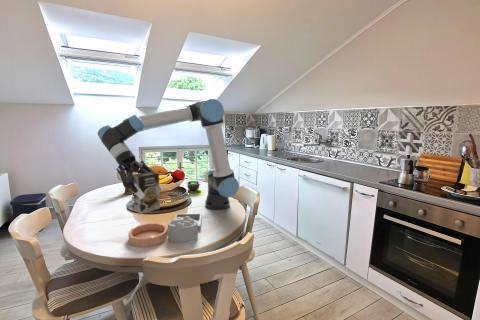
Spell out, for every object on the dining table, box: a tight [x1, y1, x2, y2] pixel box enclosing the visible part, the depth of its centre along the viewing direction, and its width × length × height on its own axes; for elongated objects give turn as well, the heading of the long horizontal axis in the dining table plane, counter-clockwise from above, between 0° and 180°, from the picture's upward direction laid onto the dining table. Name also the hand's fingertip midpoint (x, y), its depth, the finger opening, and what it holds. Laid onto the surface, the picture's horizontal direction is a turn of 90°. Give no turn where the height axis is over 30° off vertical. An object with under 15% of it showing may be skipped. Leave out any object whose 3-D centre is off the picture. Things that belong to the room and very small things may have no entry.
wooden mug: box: [117, 171, 134, 195], centre depth 175 cm, size 9×14×18 cm, turn 153°
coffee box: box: [133, 171, 161, 214], centre depth 109 cm, size 9×6×16 cm
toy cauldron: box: [185, 177, 205, 196], centre depth 181 cm, size 15×15×11 cm
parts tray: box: [173, 212, 203, 231], centre depth 127 cm, size 14×16×2 cm
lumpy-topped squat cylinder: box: [167, 216, 199, 244], centre depth 113 cm, size 10×13×9 cm
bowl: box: [128, 222, 168, 248], centre depth 112 cm, size 16×16×4 cm
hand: (152, 194), depth 108 cm, fingers closed on coffee box, 10 cm apart
